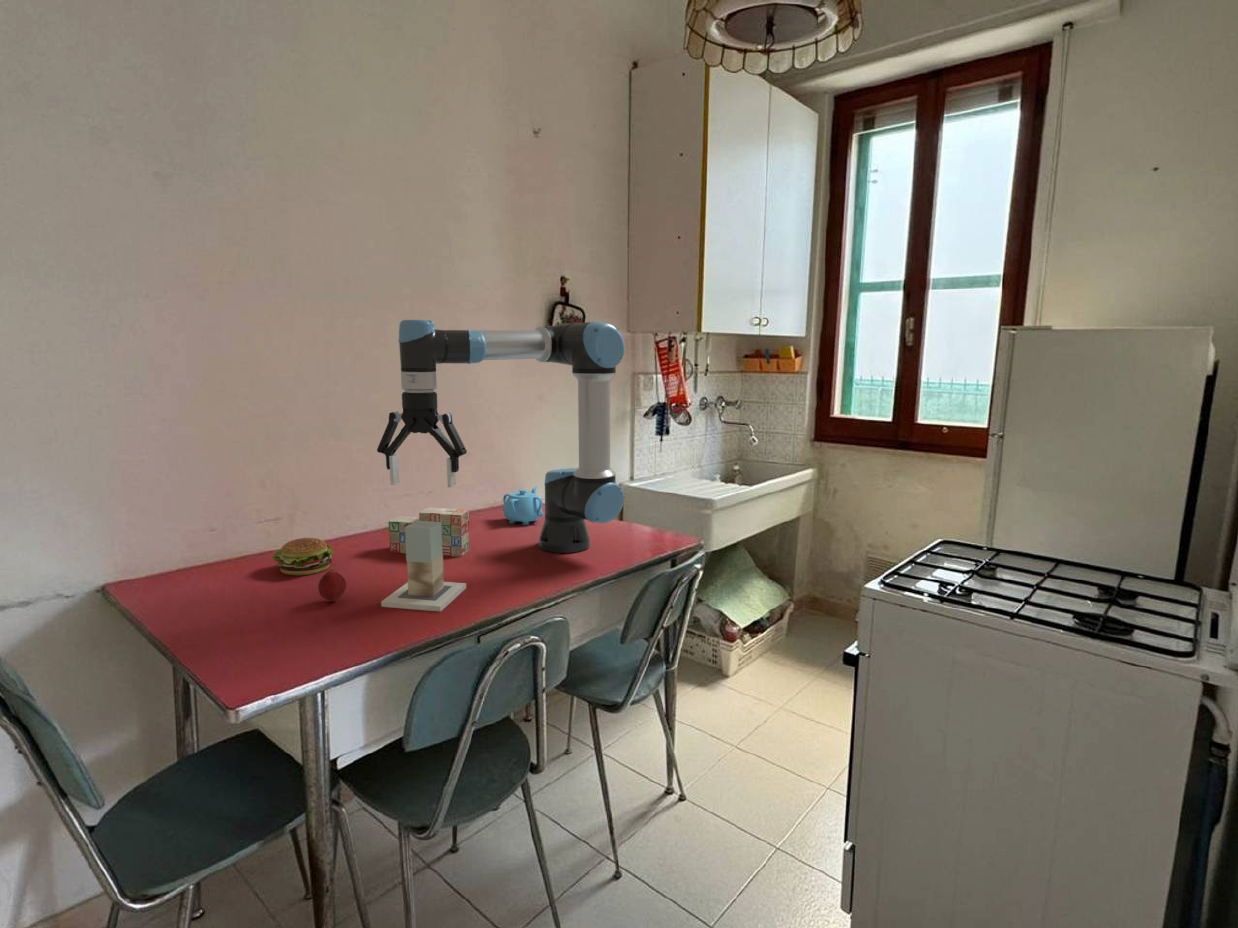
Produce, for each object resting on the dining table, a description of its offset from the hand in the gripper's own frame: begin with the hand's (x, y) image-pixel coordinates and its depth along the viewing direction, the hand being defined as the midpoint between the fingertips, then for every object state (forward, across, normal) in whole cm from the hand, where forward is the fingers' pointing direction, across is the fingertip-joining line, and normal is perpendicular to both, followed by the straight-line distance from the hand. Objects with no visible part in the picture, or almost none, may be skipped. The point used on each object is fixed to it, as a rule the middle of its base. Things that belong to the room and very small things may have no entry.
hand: (423, 485), depth 152 cm
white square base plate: (+27, 0, 0) cm, 27 cm away
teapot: (+28, +2, +72) cm, 77 cm away
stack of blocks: (+27, -14, +33) cm, 45 cm away
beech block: (+25, 0, 0) cm, 25 cm away
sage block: (+17, 0, 0) cm, 17 cm away
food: (+27, -39, +12) cm, 49 cm away
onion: (+27, -19, -7) cm, 34 cm away
